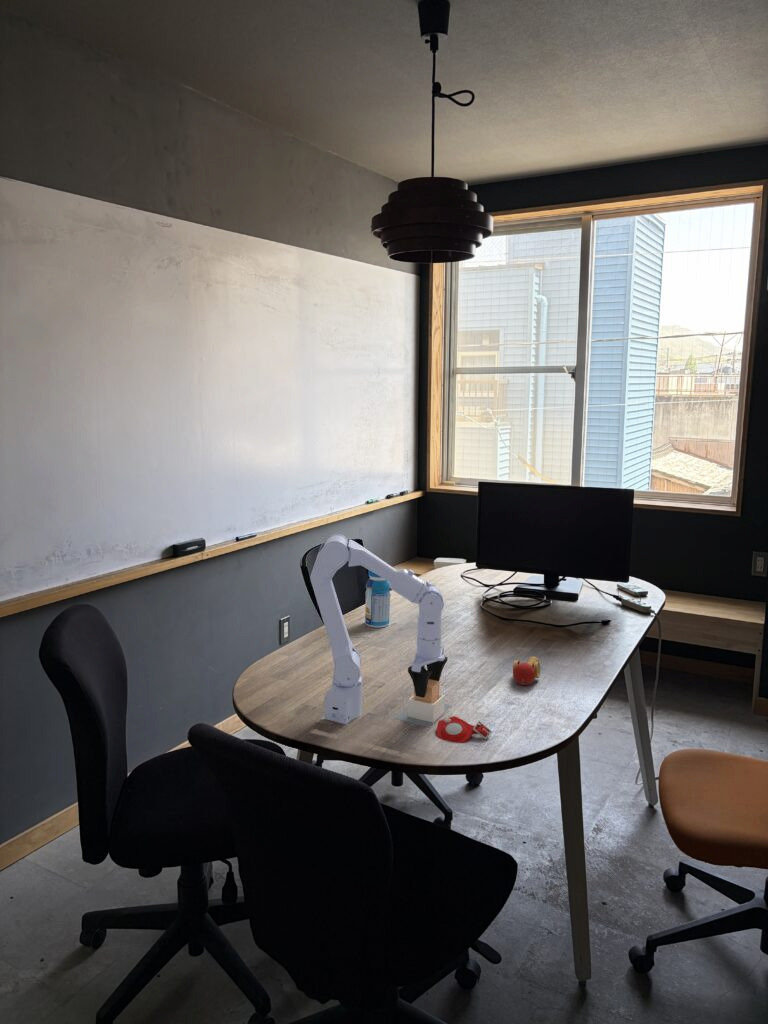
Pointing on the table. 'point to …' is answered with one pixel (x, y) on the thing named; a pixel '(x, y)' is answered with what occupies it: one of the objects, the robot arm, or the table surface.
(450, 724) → the tracker holder
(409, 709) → the cream base block
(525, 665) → the kendama
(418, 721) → the baseplate
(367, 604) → the beverage bottle
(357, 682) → the robot arm
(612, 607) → the table surface
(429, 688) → the orange block
